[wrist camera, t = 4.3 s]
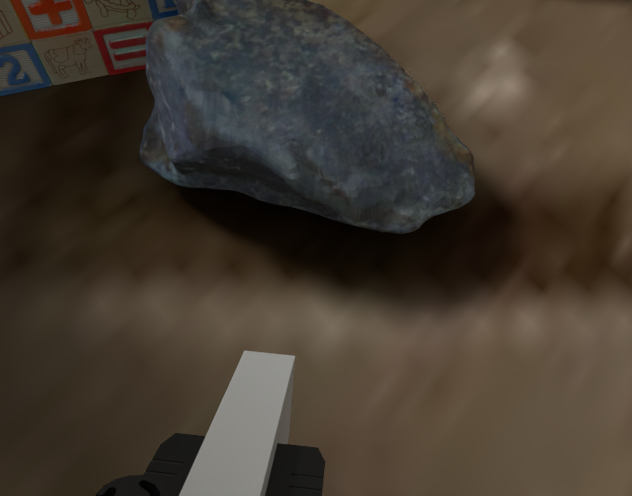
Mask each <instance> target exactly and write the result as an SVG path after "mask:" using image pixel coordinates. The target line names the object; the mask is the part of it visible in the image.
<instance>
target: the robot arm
mask: <svg viewBox="0 0 632 496" xmlns="http://www.w3.org/2000/svg"><path fill="white" fill-rule="evenodd" d="M294 363H295V356H291V355H281V354H272V353H263V352H253V351H244V353H243V355H242V357H241V359H240V362H239V364H238V366H237V368H236V370H235V373H234V375H233V377H232V379H231V382H230V384H229V386H228V388H227V390H226V393H225V395H224V397H223V399H222V401H221V404H220V406H219V408H218V410H217V413H216V415H215V417H214V419H213V421H212V424H211V426H210V428H209V430H208V432H207V435H206V436H198V435H189V434H180V433H175V434H174V435H173V436H171V437H170V438H169V439H167V440H166V441H165V442H163V443H162V444H161V445H160V447H159V448H158V450H157V452H156V454H155V455H154V457H153V460H152V461H151V462H150V464H149V466H148V468H147V469H146V473H144V475H140V476H126V477H123V478H119V479H115V480H114V481H112V482H110V483H108V484H106V485H104V486H103V487H102V488H101V489H100V490H99V491H98V492H97V494H96V496H322V487H323V477H324V467H325V461H324V459H323V457H322V455H321V453H320V451H319V449H318V448H315V447H306V446H298V445H289V444H288V439H289V428H290V415H291V402H292V389H293V376H294Z"/></svg>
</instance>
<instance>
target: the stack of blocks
mask: <svg viewBox="0 0 632 496" xmlns="http://www.w3.org/2000/svg"><path fill="white" fill-rule="evenodd" d="M176 15H178V8H177V3H176V0H0V96H4V95H9V94H14V93H19V92H24V91H29V90H35V89H39V88H45V87H50V86H52V85H59V84H64V83H69V82H74V81H79V80H85V79H90V78H95V77H100V76H105V75H115V74H121V73H126V72H131V71H136V70H142V69H146V37H147V32H148V31H149V28H150V27H151V25H152V24H153V23H154V22H155V21H156V20H159V19H163V18H168V17H172V16H176Z"/></svg>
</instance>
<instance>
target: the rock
mask: <svg viewBox="0 0 632 496" xmlns="http://www.w3.org/2000/svg"><path fill="white" fill-rule="evenodd" d="M176 3H177V8H178V15H176V16H172V17H168V18H163V19H159V20H156V21H155V22H154V23H153V24H152V25H151V27H150V28H149V31H148V32H147V37H146V75H147V79H148V83H149V86H150V89H151V91H152V94H153V96H154V99H155V104H154V108H153V110H152V113H151V116H150V118H149V120H148V122H147V124H146V125H145V127H144V129H143V139H142V142H141V145H140V150H139V154H140V159H141V161H142V163H143V164H144V165H145V166H147V167H148V168H150V169H151V170H153V171H154V172H155V173H157V174H158V175H159V176H160V177H162V178H164V179H166V180H168V181H170V182H172V183H174V184H176V185H178V186H183V187H188V188H210V189H215V190H233V191H237V192H240V193H244V194H246V195H248V196H250V197H252V198H254V199H257V200H260V201H263V202H267V203H271V204H275V205H281V206H288V207H293V208H297V209H301V210H305V211H308V212H311V213H314V214H318V215H321V216H323V217H326V218H329V219H332V220H335V221H339V222H342V223H346V224H349V225H353V226H358V227H362V228H366V229H370V230H376V231H380V232H390V233H396V234H404V233H409V232H413V231H415V230H417V229H419V228H420V226H421V225H422V224H423V223H424V222H425V221H427V220H428V219H430V218H431V217H433V216H436V215H439V214H442V213H445V212H448V211H451V210H454V209H458V208H460V207H462V206H464V205H465V204H467V203H469V202H470V201H471V199H472V198H473V197H474V195H475V187H474V185H475V177H474V163H473V156H472V153H471V151H470V150H469V149H468V148H467V147H466V146H465V145H464V144H463V143H462V142H461V141H460V140H459V139H458V138H457V137H456V136H455V135H454V134H453V133H452V132H451V131H450V129H449V127H448V126H447V124H446V121H445V118H444V117H443V116H442V115H441V114H440V112H439V111H438V109H437V108H436V106H435V105H434V103H433V102H432V101H431V100H430V99H429V98H428V97H427V95H426V94H425V92H424V91H423V89H422V88H421V86H420V84H418V83H417V82H415V81H414V80H413V79H412V78H411V77H410V76H408V75H407V74H406V73H405V71H404V69H403V68H402V67H401V66H399V64H397V63H396V62H395V61H394V60H392V59H391V58H390V56H389V55H388V54H387V53H386V51H385V50H384V49H383V48H381V47H380V46H379V45H377V44H376V43H375V42H373V41H372V40H371V39H370V38H369V37H367V36H366V35H365V34H364V33H362V32H361V31H360V30H359V29H357V28H356V27H355V26H354V25H353V24H351V23H350V22H348V21H347V20H345V19H344V18H342V17H340V16H338V15H337V14H335V13H334V12H333V11H332V10H330V9H328V8H326V7H325V6H323V5H320V4H316V3H313V2H309V1H307V0H176Z"/></svg>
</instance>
